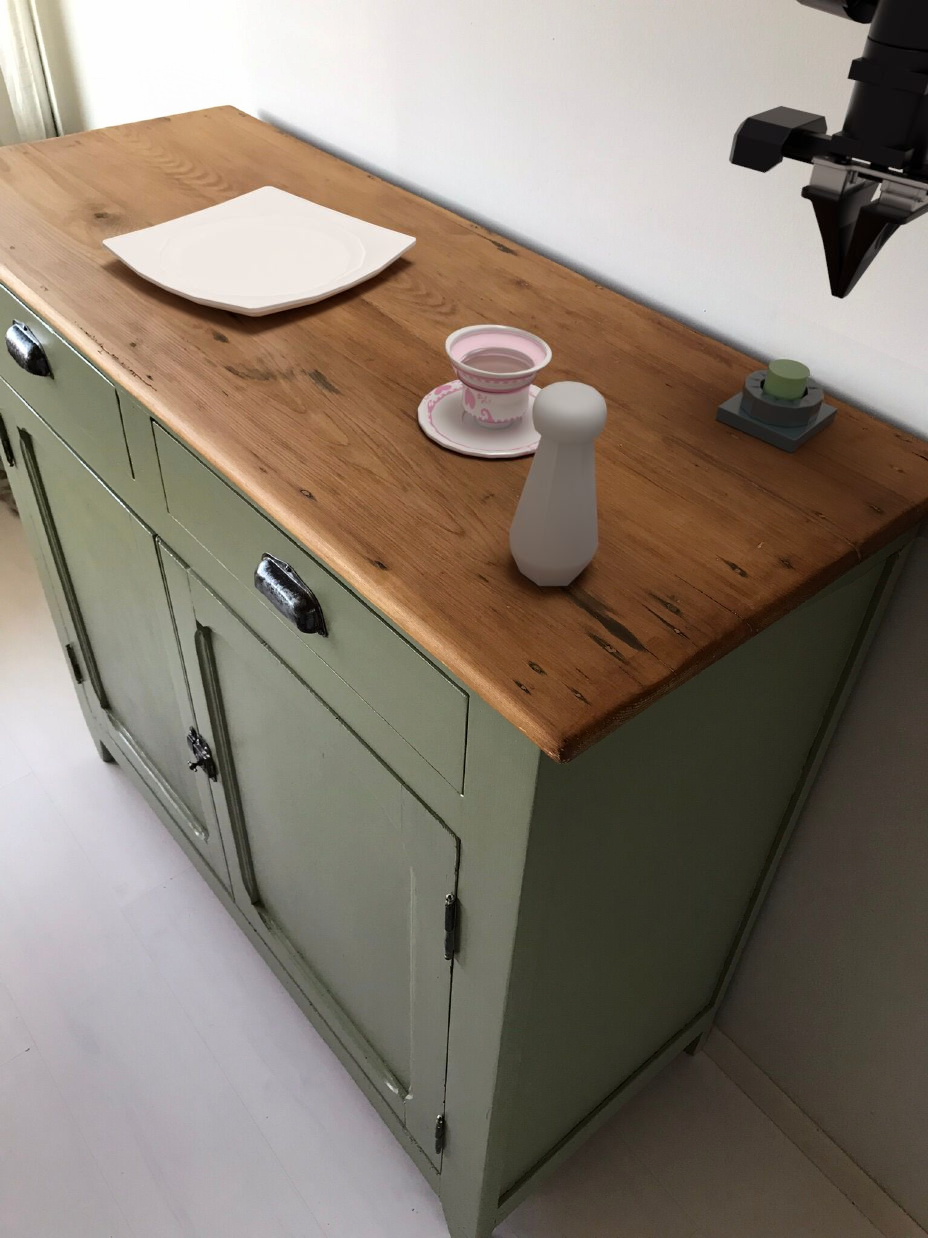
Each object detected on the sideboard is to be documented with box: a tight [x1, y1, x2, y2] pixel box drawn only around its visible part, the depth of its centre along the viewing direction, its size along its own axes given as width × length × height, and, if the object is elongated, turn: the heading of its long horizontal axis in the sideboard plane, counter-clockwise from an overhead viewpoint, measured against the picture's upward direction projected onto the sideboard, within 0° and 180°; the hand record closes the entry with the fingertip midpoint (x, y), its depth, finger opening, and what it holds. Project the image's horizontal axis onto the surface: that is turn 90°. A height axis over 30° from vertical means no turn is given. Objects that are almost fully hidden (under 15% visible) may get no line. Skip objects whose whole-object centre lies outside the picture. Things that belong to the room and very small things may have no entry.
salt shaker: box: [508, 380, 608, 587], centre depth 59 cm, size 6×6×13 cm
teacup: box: [417, 324, 553, 459], centre depth 75 cm, size 12×12×6 cm
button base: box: [715, 368, 839, 454], centre depth 77 cm, size 7×7×3 cm
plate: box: [101, 185, 417, 317], centre depth 96 cm, size 24×24×3 cm
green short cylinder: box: [763, 358, 811, 400], centre depth 76 cm, size 3×3×2 cm
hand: (839, 295), depth 67 cm, fingers closed
